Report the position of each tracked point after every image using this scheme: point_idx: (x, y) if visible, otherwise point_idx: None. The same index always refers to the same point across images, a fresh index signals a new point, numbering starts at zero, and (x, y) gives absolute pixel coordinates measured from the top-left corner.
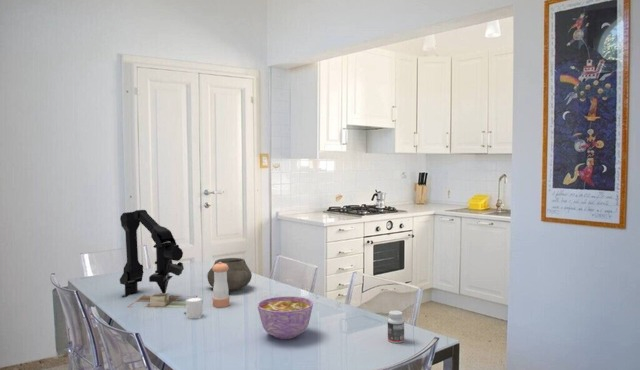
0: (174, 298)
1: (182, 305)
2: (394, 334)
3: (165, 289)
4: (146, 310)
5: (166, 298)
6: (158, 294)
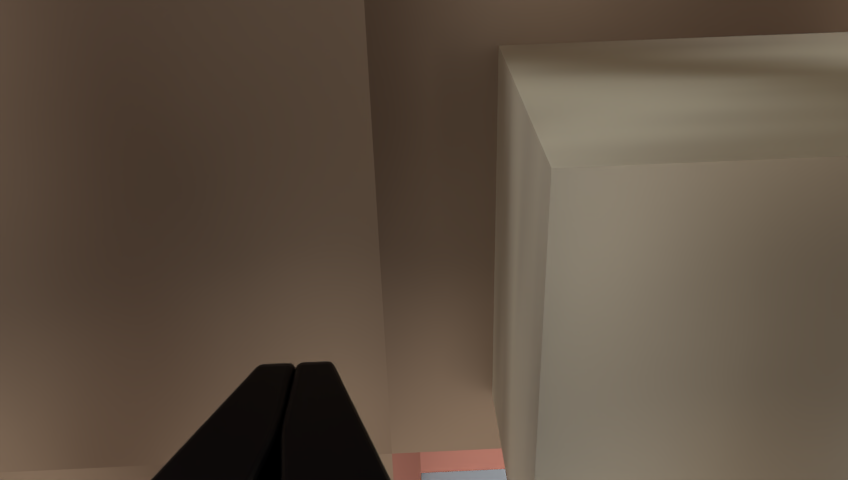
0: (19, 36)
1: None
2: None
3: (335, 446)
4: None
5: (791, 99)
6: (698, 467)
